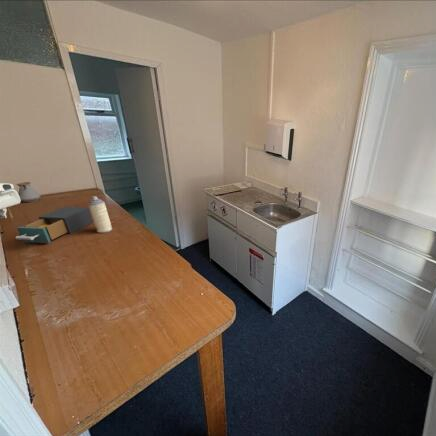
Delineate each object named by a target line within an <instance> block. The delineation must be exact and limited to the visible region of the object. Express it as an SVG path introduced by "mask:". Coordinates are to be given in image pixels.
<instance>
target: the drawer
mask: <svg viewBox="0 0 436 436" xmlns="http://www.w3.org/2000/svg"><path fill="white" fill-rule="evenodd" d="M43 225H48V226H46V227H45V228H46V229H45V228H38V227H40V226H43ZM16 229H17V232H18V233H19V235H16V236H15V239H16V240H19V241H21V240H22V242H23V243H37V244H38V243H40V244H50V243H52V242H51V241H53V240H55V239H57V238H59V237H60V236H63V235H66V234H65V233H67V232H68V230H67V227H66V224H65V222H64V219H44V218H43V219H38V220H36V221H34V222H30V223H28V224H25V225H24V226H18V227H16ZM46 230H47V231H46ZM48 235H49V236H48Z"/></svg>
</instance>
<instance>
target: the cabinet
mask: <svg viewBox="0 0 436 436" xmlns="http://www.w3.org/2000/svg"><path fill="white" fill-rule="evenodd" d="M43 218H44V219H64V222H65V224H66V227H67V230H68V232H67V233H65V234H64V235H72V234H75V233H76V232H77V231H80V230H81V229H84V228H85V227H88V226H90V225H91V224H93V223H94V220H93V217H92V214H91V211H90V208H89V207H86V206H85V207H81V206H64V207H60V208H57V209H55V210H53V211H50V212H48V213H45V214H42V215H40V216H38V220H40V219H43Z"/></svg>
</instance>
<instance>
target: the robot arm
mask: <svg viewBox="0 0 436 436" xmlns="http://www.w3.org/2000/svg"><path fill="white" fill-rule="evenodd" d="M18 193H19V192H18V191H17V190H16V189H15V186H14V184H13V183H4V182H0V220H5V219H7V218H8V217H7V212H8V209H7V208H9V207H13V206H16V205H19V204H21V202H22V201H21V199H20V197H19V195H18Z"/></svg>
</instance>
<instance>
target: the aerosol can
mask: <svg viewBox="0 0 436 436" xmlns="http://www.w3.org/2000/svg"><path fill="white" fill-rule="evenodd" d="M88 208H89V211H90V214H91V217H92V220H93V223H94V226H95V230H96V233H97V234H106V233H109V232H112V231H113V227H112V223H111V219H110V216H109V212H108V209H107V206H106V203H105V201H104V200H103V199H100V198H98V196H95V195H94V196H92V199H91V200H90V201H89V202H88Z"/></svg>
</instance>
